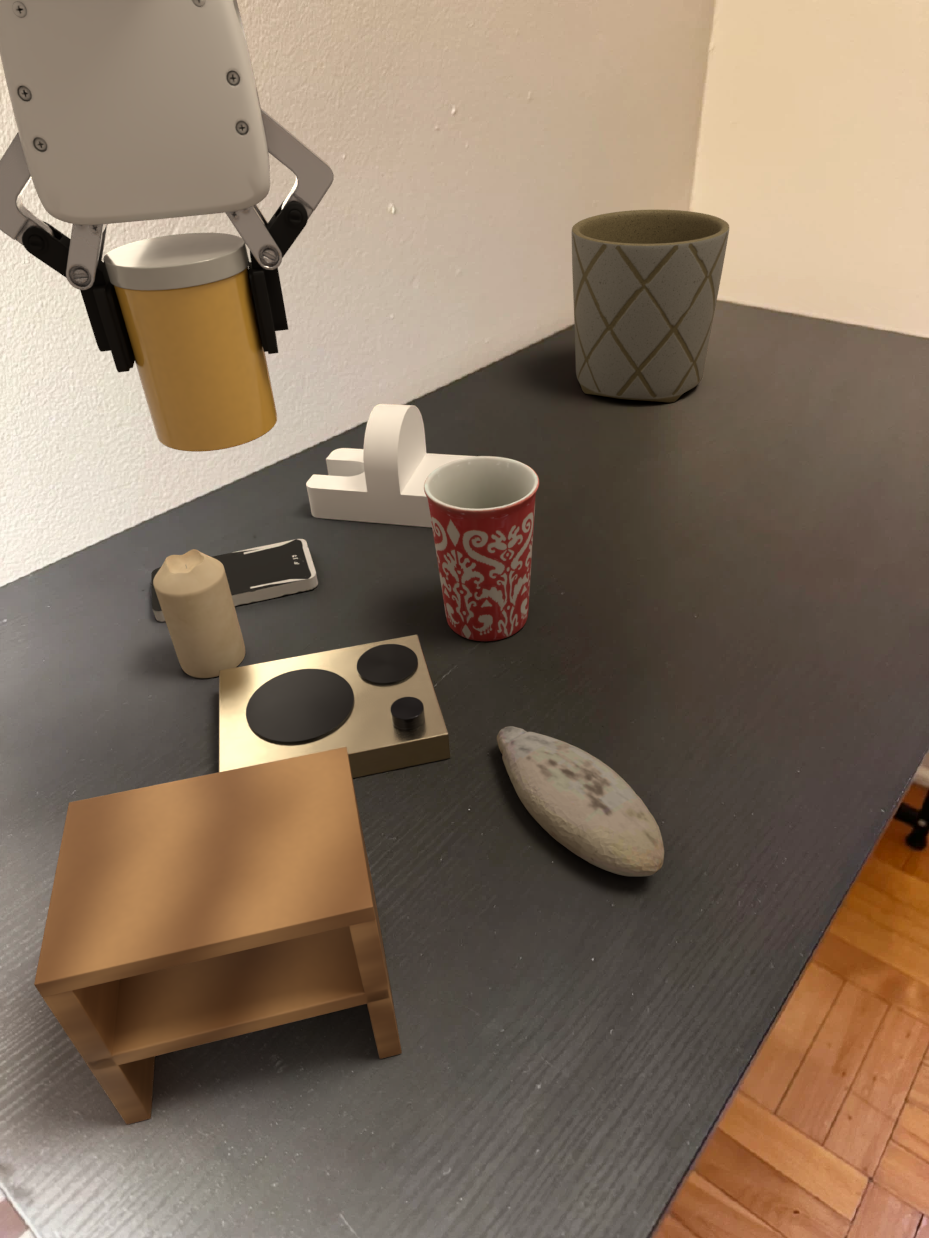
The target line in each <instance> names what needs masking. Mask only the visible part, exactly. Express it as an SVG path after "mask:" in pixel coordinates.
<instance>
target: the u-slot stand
mask: <svg viewBox="0 0 929 1238" xmlns="http://www.w3.org/2000/svg"><path fill="white" fill-rule="evenodd" d="M426 443H427V442H426V431H425V424H424V420H423V416H422V412H421V411H420V409H419V407H417V406H416V405H413V404H411V405H410V404H394V403H378V404H377V405H375V406H374V407H373V408H372V410H371V412H370V414H369V416H368V420H367V422H366V425H365V431H364V438H363V448H351V447H340V448H336V449H334V450H332V451H331V452H330V453H329V455H327V457H326V458H325V463H326V469H327V470H326V471H327V474H315V473H314V474H312V475H311V476H310V477H309V479H308V480H307V481H306V483H305V485H306V486H305V487H306V490H307V497H308V502H309V508H310V512H311V513H310V514H311V517H313V518H316V519H324V520H325V519H326V520H338V521H348V522H349V521H350V522H361V523H373V524H386V525H397V526H407V527H408V526H409V527H421V528H432V523H431V516H430V510H429V504H428V498H427V496H426V495H425V492H424V483H425V480H426V478H427V477H428V476H429V474H430V473H432V472H433V471H434V470H435V469H437V468H438V467H440V466H442V465H444V464H446V463H449V462H451V461H455V460H458V459H463V458H468V457H476V456H477V455H461V454H447V453H445V454H444V453H429V452H427V444H426Z"/></svg>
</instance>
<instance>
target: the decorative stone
mask: <svg viewBox="0 0 929 1238" xmlns="http://www.w3.org/2000/svg"><path fill="white" fill-rule="evenodd" d="M496 743H497V746H498V749H499V751H500V753H501V754H502V757H501V758H502V762H503V764H504V767H505V770H506V773H507V775H508V776H509V779H510V782H511V784H512V786H513V788H514V791H515V793H516V795H517V796H518V798H519V800H520V802H521V803H522V805H523V806H524V808H525V810H527V812H528V813H529V815H530V816H531V817H532V818H533V819H534V820H535V821H536V823H538V825H540V827H541V828H542V829H543V830H544V831H546V832H547V834H549V836H551V838H553V839H554V840H555V841H556V842H558V843H559V844H560V845H562V846H563V847H565V848H566V849H567V850H568V851H570V852H571V853H573V854H574V855H576V856H577V857H579V858H581V859H583V860H584V861H585V862H587V863H589V864H591V865H593V866H595V867H597V868H600V869H601V870H604V871H607V872H609V873H612V874H615V875H619V876H624V877H649V876H652V875H655V874H656V873H657V872H659V871H661V869H662V867H663V865H664V859H665V847H664V841H663V836H662V833H661V830H660V827H659V825H658V823H657V821H656V819H655V817H654V815H653V814H652V813H651V812H650V810H649V809H648V807H647V805H646V804H645V802H644V801H643V800H642V798H640V796H639V795H638V794H636V792H635V790H634V789H633V787H631V785H630V784H628V782H626V781H625V780H624V778H622V776H620V775H619V774H618V773H617V772H616V771H615V770H614V769H613V768H611V767H610V766H609V765H608V764H606V763H604V761H602V760H601V759H599V758H598V757H595V756H594V755H593V754H591V753H588V752H587V751H586V750H583V749H581V748H580V747H577V746H575V745H572V744H570V743H568V742H566V741H563V740H560V739H557V738H555V737H551V736H549V735H545V734H542V733H537V732H535V731H527V730H525V729H523V728H521V727H517V726H513V725H508V726H505V727H503V728H501V729H500V730H499V731H498V733H497V735H496Z"/></svg>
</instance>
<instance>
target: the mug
mask: <svg viewBox="0 0 929 1238" xmlns="http://www.w3.org/2000/svg"><path fill="white" fill-rule="evenodd" d="M475 456H476V457H468V458H463V459H458V460H455V461H451V462H449V463H446V464H444V465H442V466H440V467H438V468H437V469H435V470H434V471H433V472H432V473H430V474H429V476H428V477H427V478H426V480H425V483H424V492H425V495H426V496H427V498H428V504H429V510H430V516H431V523H432V527H431V528H432V535H433V542H434V548H435V553H436V560H437V561H436V562H437V568H438V575H439V581H440V586H441V592H442V599H443V605H444V613H445V617H446V623H447V625H448V626H449V628H450V629H451V630H452V631H453V632H454V633H455V634H457V635H459V636H460V637H462V638H465V639H467V640H471V641H476V642H495V641H501V640H504V639H507V638H509V637H511V636H514V635H515V634H517V633H518V632H519V631H520V630H521V629H522V628H524V626H525V625H526V623H527V621H528V617H529V611H530V610H529V608H530V591H531V590H530V589H531V575H532V559H533V558H532V557H533V542H534V528H535V513H536V511H535V510H536V495H537V491H538V489H539V487H540V479H539V475H538V474H537V472H536V471H535V470H534V469H533V468H532V467H530V466H529V465H527V464H526V463H523V462H521V461H519V460H516V459H512V458H508V457H503V456H492V455H478V456H477V455H475Z"/></svg>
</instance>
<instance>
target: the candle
mask: <svg viewBox="0 0 929 1238" xmlns="http://www.w3.org/2000/svg"><path fill="white" fill-rule="evenodd" d="M160 567H161V568H160V569H159V571H158V572H157V574H156V575H155V577H154V580H153V585H154V588H155V591H156V594H157V597H158V600H159V603H160V606H161V609H162V612H163V615H164V618H165V621H166V622H165V624H166V627H167V630H168V633H169V637H170V639H171V642H172V645H173V648H174V651H175V654H176V657H177V660H178V663H179V665H180V667H181V669H182V671H183V672H184V673H185V674H187V675H188V676H190V677H192V678H196V679H212V678H217V677H219V671H220V670H225V669H231V668H236V667H239V665H240V664H241V663H242V662H243V661H244V659H245V656H246V646H245V645H246V644H245V641H244V637H243V633H242V629H241V626H240V621H239V618H238V614H237V610H236V606H234V603H233V599H232V595H231V592H230V588H229V584H228V580H227V577H226V573H225V569H224V566H223V564H222V563H221V562H220V561H218V560H217V559H215V558H212V556H209V555H208V554H205V553H204V552H202V551H199V550H198V549H194V548H193V549H190V550H188V551H186V552H185V553H183V554H170V555H168V556H166V558H165V559H164V561H163V563H162V565H161V566H160Z"/></svg>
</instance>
